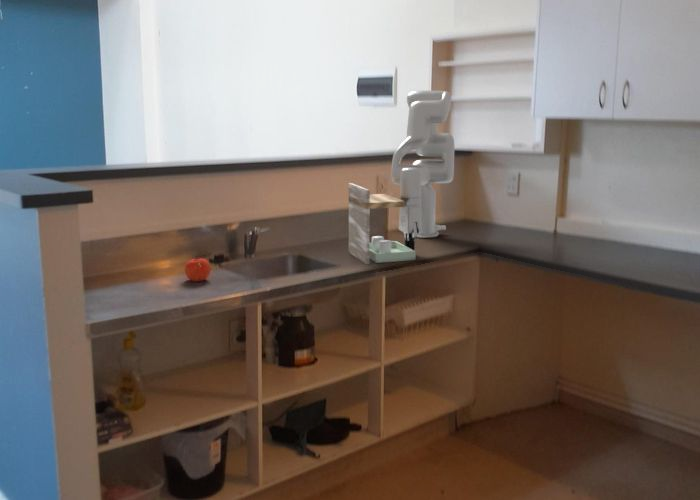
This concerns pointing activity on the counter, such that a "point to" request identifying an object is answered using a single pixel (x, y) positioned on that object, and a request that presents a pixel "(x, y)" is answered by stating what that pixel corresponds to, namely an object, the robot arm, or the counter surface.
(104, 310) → the counter surface
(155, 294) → the counter surface
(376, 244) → the grey rounded piece
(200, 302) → the counter surface
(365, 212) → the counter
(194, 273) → the apple
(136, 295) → the counter surface
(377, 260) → the tray
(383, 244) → the white egg
